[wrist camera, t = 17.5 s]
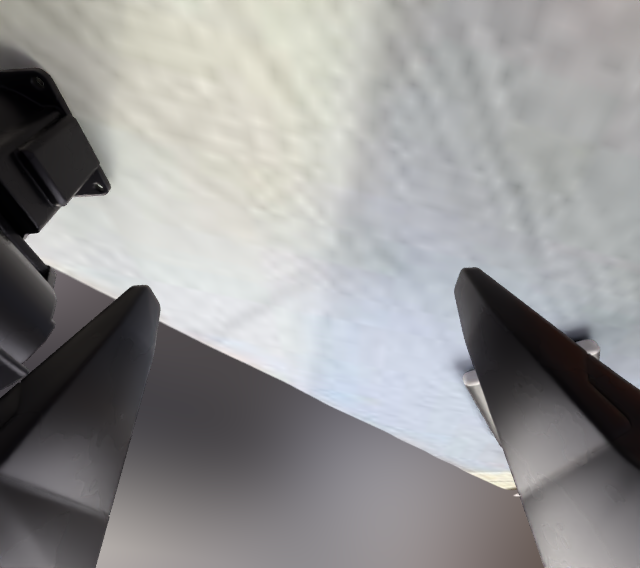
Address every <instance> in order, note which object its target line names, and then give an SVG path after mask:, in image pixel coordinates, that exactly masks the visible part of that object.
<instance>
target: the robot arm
mask: <svg viewBox="0 0 640 568" xmlns="http://www.w3.org/2000/svg"><path fill="white" fill-rule="evenodd" d="M36 77H38V78H40V79H41V80H42V81H43V83H44V86H43V85H41V84H40V83H39V82H38V81H37V79H36ZM99 164H100V162H99V160H98V159H97V157H96V155H95V153H94V151H93V149H92V148H91V146H90V144H89V142H88V140H87V138H86V137H85V135H84V133H83V131H82V129H81V127H80V126H79V124H78V122H77V120H76V119H75V118H74V117H73V116H72V114H71V112H70V110H69V108H68V106H67V105H66V103H65V101H64V99H63V97H62V95H61V94H60V92H59V90H58V88H57V86H56V84H55V83H54V81H53V79H52V78H51V76H50V75H49V74H48V73H47V72H45V71H44V70H42V69H39V68H26V69H9V70H0V391H1V390H3V389H5V388H6V387H8V386H10V385H12V384H13V383H15V382H17V381H18V380H20V379H22V378H23V379H22V380H21V383H17V384H16V385H15V386H14V387H13V388H12V389H10V390H9V391H8V392H7V393H6V394H5V395H3V396H2V397H1V398H0V568H96V564H97V560H98V557H99V553H100V549H101V546H102V542H103V539H104V535H105V531H106V528H107V524H108V521H109V515H110V512H111V509H112V505H113V502H114V498H115V494H116V491H117V487H118V483H119V479H120V476H121V473H122V469H123V465H124V461H125V458H126V454H127V451H128V447H129V443H130V440H131V436H132V433H133V429H134V425H135V422H136V418H137V414H138V411H139V407H140V404H141V400H142V396H143V393H144V389H145V385H146V382H147V378H148V375H149V371H150V367H151V364H152V360H153V354H154V350H155V342H156V336H157V329H158V323H159V316H160V304H159V302H158V300H157V298H156V297H155V295H154V293H153V292H152V290H151V288H150V287H149V286H147V285H135V286H132V287H130V288H129V289H128V290H127V291H125V292H124V293H123V294H122V295H121V296H120V297H118V298H117V299H116V300H115V301H114V302H113V303H111V304H110V305H109V306H108V307H107V308H106V309H104V310H103V311H102V312H101V313H100V314H99V315H97V316H96V317H95V318H94V319H93V320H91V321H90V322H89V323H88V324H87V325H86V326H85V327H83V328H82V329H81V330H80V331H79V332H77V333H76V334H75V335H74V336H73V337H72V338H70V339H69V340H68V341H67V342H66V343H64V344H63V345H62V346H61V347H60V348H59V349H57V350H56V352H54V353H53V354H52V355H50V356H49V357H48V358H47V359H46V360H45V361H44V362H42V363H41V364H40V365H39V366H38V367H36V368H35V369H34V370H33V371H32V372H30V373H29V370H28V369H27V368H26V367H25V366H23V365H22V364H23V363H24V362H25V361H27V360H28V359H29V358H30V357H31V355H32V354H34V353H35V351H37V350H38V348H40V347H41V345H42V344H43V343H44V342H45V341H46V340H47V338H48V337H49V335H50V334H51V332H52V331H53V329H54V328H55V322H54V321H53V320H52V318H53V315H54V311H55V307H56V302H57V299H56V296H55V292H54V284H55V279H56V273H55V272H54V271H53V270H52V268H51V267H50V266H46V265H45V264H44V263H43V261H42V260H41V259H40V258H39V257H38V256H37V255H36V253H35V252H34V251H33V250H32V249H31V248H30V247H29V245H28V244H27V243H26V242H25V241H24V240H25V239H26V238H27V236H28V235H29V234H33V233H39V232H40V230H41V229H42V228H43V227H44V226H45V225H46V224H47V222H48V221H49V220H50V219H51V218H52V217H53V215H54V214H55V213H56V212H57V211H58V210H59V209H60V207H61V206H65V205H67V203H68V202H69V201H70V200H71V199H72V198H73V197H83V196H100V195H106V194H107V193H108V192H109V190H110V189H111V186H110V183H109V181H108V179H107V178H106V176H105V174H104V172H103V170H102V168H101V167H100V165H99ZM97 184H99V185H101V186H102V187H103V188H101V187H99V186H98V185H97ZM454 294H455V299H456V304H457V308H458V313H459V317H460V322H461V326H462V331H463V335H464V339H465V343H466V346H467V349H468V352H469V355H470V357H471V360H472V363H473V366H474V369H475V371H476V374H477V377H478V380H479V383H480V386H481V388H482V391H483V394H484V397H485V400H486V403H487V405H488V408H489V411H490V414H491V417H492V420H493V422H494V425H495V428H496V431H497V434H498V437H499V439H500V442H501V445H502V448H503V451H504V454H505V456H506V459H507V462H508V465H509V468H510V470H511V473H512V476H513V479H514V482H515V485H516V487H517V490H518V493H519V495H520V499H521V502H522V505H523V507H524V511H525V513H526V516H527V519H528V522H529V524H530V527H531V530H532V533H533V536H534V539H535V542H536V545H537V547H538V550H539V553H540V556H541V558H542V562H543V564H544V567H545V568H640V390H639V389H638V388H636V387H635V386H633V385H632V384H631V383H629V382H628V381H626V380H625V379H623V378H622V377H621V376H619V375H618V374H617V373H615V372H614V371H613V370H611V369H610V368H609V367H607V366H606V365H604V364H603V363H602V362H601V361H599V360H598V359H597V358H595V357H594V356H593V355H591V354H590V353H588V354H587V351H586V350H585V349H583V348H582V347H581V346H580V345H578V344H577V343H576V342H574V341H573V340H572V339H570V338H569V337H568V336H567V335H565V334H564V333H563V332H561V331H560V330H559V329H557V328H556V327H555V326H553V325H552V324H551V323H550V322H548V321H547V320H546V319H544V318H543V317H542V316H540V315H539V314H538V313H537V312H535V311H534V310H533V309H531V308H530V307H529V306H527V305H526V304H525V303H524V302H522V301H521V300H520V299H518V298H517V297H516V296H514V295H513V294H512V293H511V292H509V291H508V290H507V289H505V288H504V287H503V286H501V285H500V284H499V283H497V282H496V281H495V280H494V279H492V278H491V277H490V276H488V275H487V274H486V273H484V272H483V271H482V270H481V269H479V268H476V267H472V268H463V269H462V270H461V272H460V274H459V277H458V280H457V282H456V285H455V289H454ZM28 373H29V374H28ZM25 376H26V377H25ZM24 377H25V378H24Z"/></svg>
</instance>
